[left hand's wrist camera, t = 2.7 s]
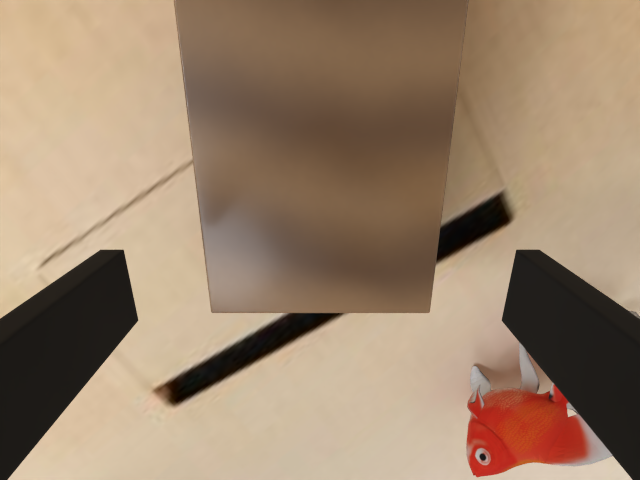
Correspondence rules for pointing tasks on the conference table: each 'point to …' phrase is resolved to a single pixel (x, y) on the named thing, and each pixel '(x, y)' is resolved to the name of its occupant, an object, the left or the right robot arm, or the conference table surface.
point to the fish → (525, 426)
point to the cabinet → (320, 148)
